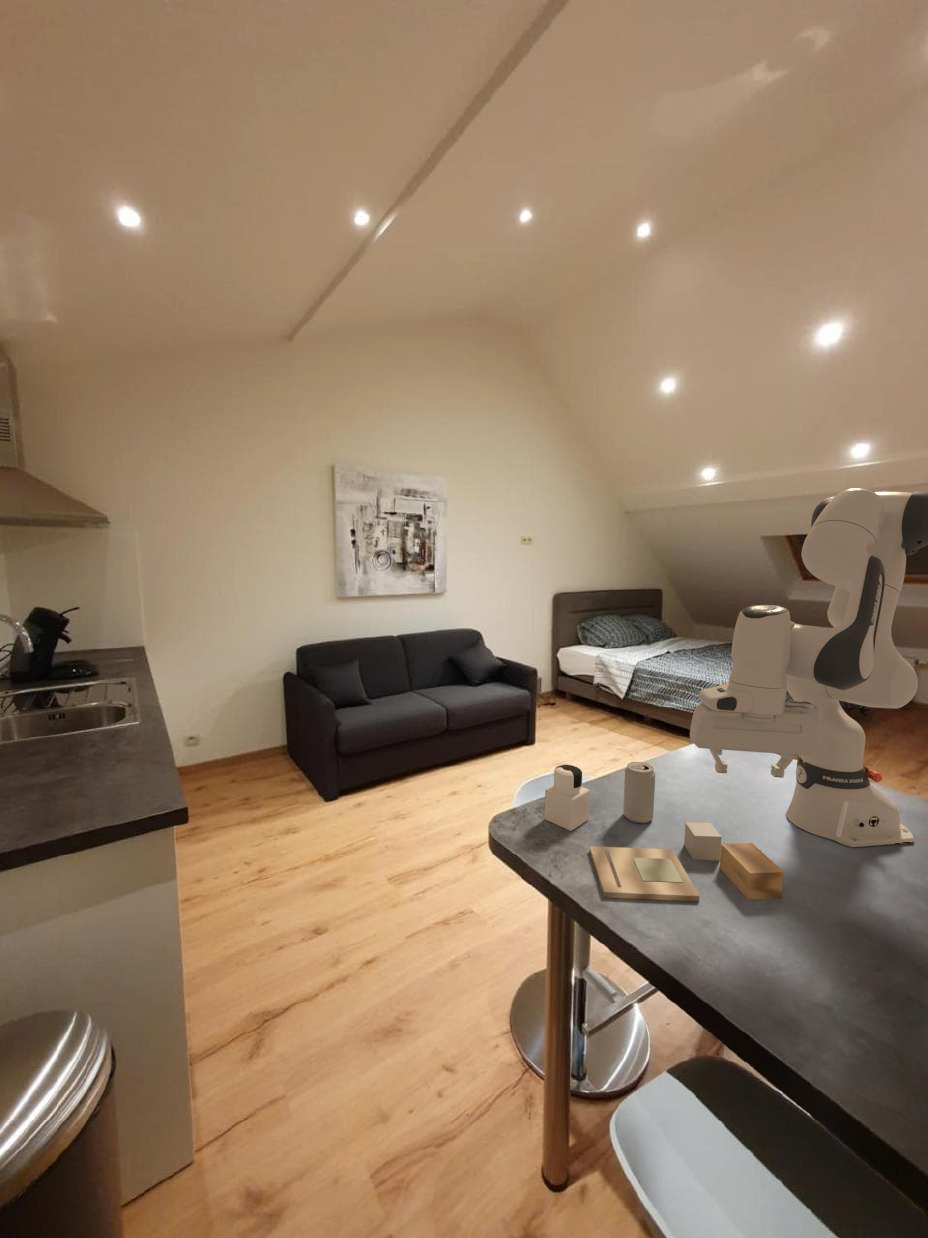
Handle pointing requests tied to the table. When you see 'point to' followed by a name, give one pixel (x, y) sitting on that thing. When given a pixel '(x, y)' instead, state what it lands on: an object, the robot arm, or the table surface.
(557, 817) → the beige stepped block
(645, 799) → the beverage can
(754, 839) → the table surface
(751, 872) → the oak block
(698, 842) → the top cube
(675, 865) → the plate
